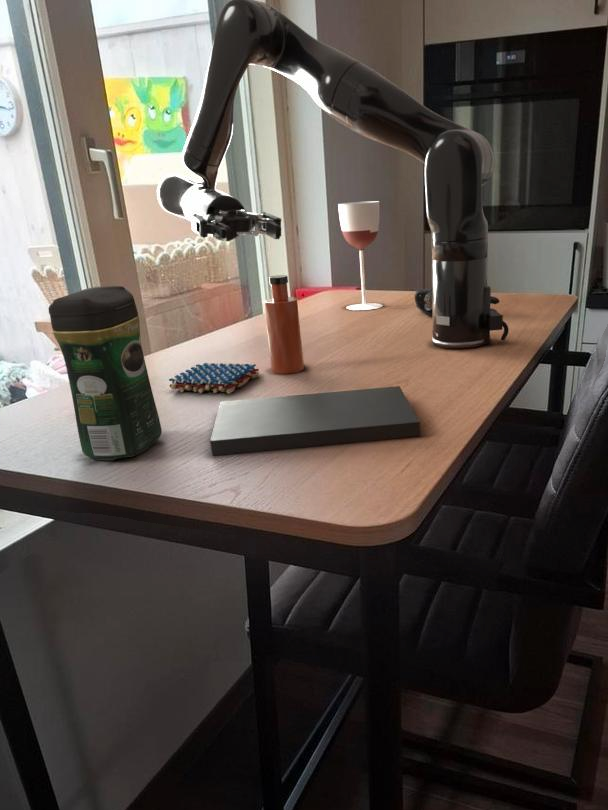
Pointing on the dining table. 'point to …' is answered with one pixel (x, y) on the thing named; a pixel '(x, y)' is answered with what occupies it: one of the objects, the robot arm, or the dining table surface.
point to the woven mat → (214, 377)
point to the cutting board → (313, 420)
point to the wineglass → (360, 236)
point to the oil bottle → (283, 328)
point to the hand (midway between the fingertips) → (253, 233)
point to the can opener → (425, 301)
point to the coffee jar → (106, 371)
